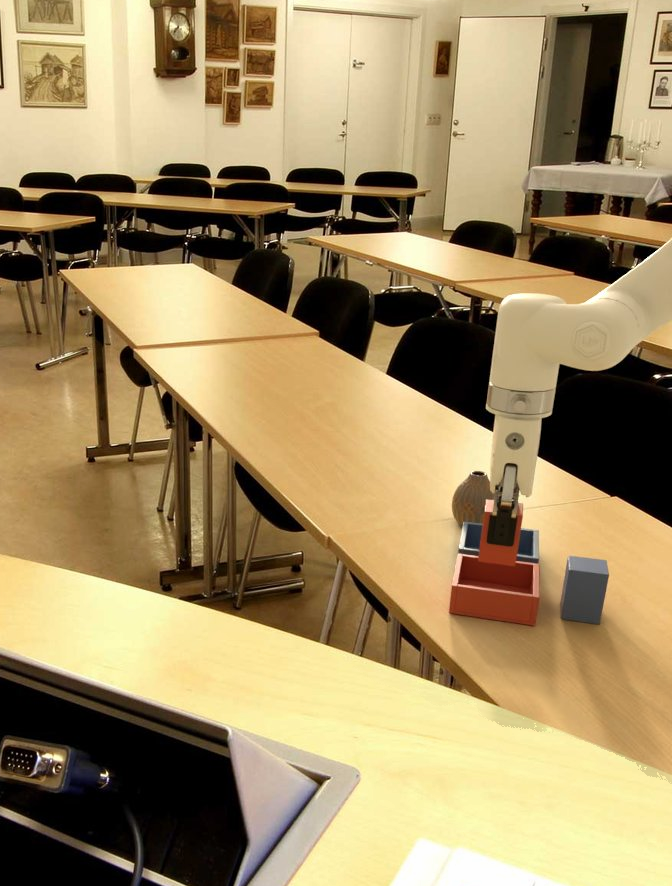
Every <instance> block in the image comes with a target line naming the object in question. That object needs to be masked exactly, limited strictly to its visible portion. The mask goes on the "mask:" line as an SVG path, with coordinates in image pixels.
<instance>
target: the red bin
mask: <svg viewBox="0 0 672 886" xmlns="http://www.w3.org/2000/svg"><path fill="white" fill-rule="evenodd" d="M539 602H540V563H538V564H536V563H534V564H533V563H528V562H521V561H516V564H515V566H508V565H500V564H493V563H486V562H478V556H474V555H466V554H458V553H457V556H456V560H455V566H454V572H453V577H452V583H451V589H450V599H449V606H448V607H449V608H448V613H449V614H455V615H461V616H467V617H474V618H480V619H487V620H493V621H500V622H505V623H506V622H508V623H512V624H513V623H514V624H521V625H527V626H533V627H534V626H536V622H537V621H536V620H537V615H538V610H539Z"/></svg>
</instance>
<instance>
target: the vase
mask: <svg viewBox="0 0 672 886" xmlns="http://www.w3.org/2000/svg"><path fill="white" fill-rule="evenodd" d="M494 495H495V494H494V493H492V492H491V490H490V478H489V476H488V474H487V472H485V471H481V470H472V471H471V472H469V475H468V476H467V477H466V478H465V479H464V480H463V481H462V482H461V483H460V484H458V486H457V487H456V489H455V491H454V493H453V496H452V499H451V511H452V516H453V518H454V520H455V522H456V523H457V524H458V525H459V526H460V527H462V528H463V522H473V523H481V524H483V519H484V512H485V505H486V499H488V500H492V498H494Z"/></svg>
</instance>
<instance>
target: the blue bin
mask: <svg viewBox="0 0 672 886" xmlns="http://www.w3.org/2000/svg"><path fill="white" fill-rule="evenodd" d="M482 527H483V524H481V523H473V522H463V527H462V529H461V534H460V538H459V544H458V550H457V552H458V553H457V555H458V554H466V555H474V556H479V549H480V542H481V534H482ZM516 561H521V562H528V563H533V564H534V563H536V564H540V563H539V562H540V531H539V529H532V528H531V529H530V528H523V527H521V532H520V538H519V545H518V551H517V558H516Z"/></svg>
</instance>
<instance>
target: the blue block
mask: <svg viewBox="0 0 672 886" xmlns="http://www.w3.org/2000/svg"><path fill="white" fill-rule="evenodd" d="M608 566H609V565H608V560H606V559H600V558H591V557H584V556H583V557H582V556H576V555H567V560H566V565H565V571H564V577H563V578H564V579H563V585H562V590H561V596H560V601H559V606H560V607H559V608H560V619H561V620H565V621H571V622H572V621H573V622H577V623H578V622H579V623H586V624H593V625H601V620H602V615H603V611H604V610H603V609H604V605H605V599H606V594H607V589H608V584H609V578H610V573H609V567H608Z"/></svg>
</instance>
